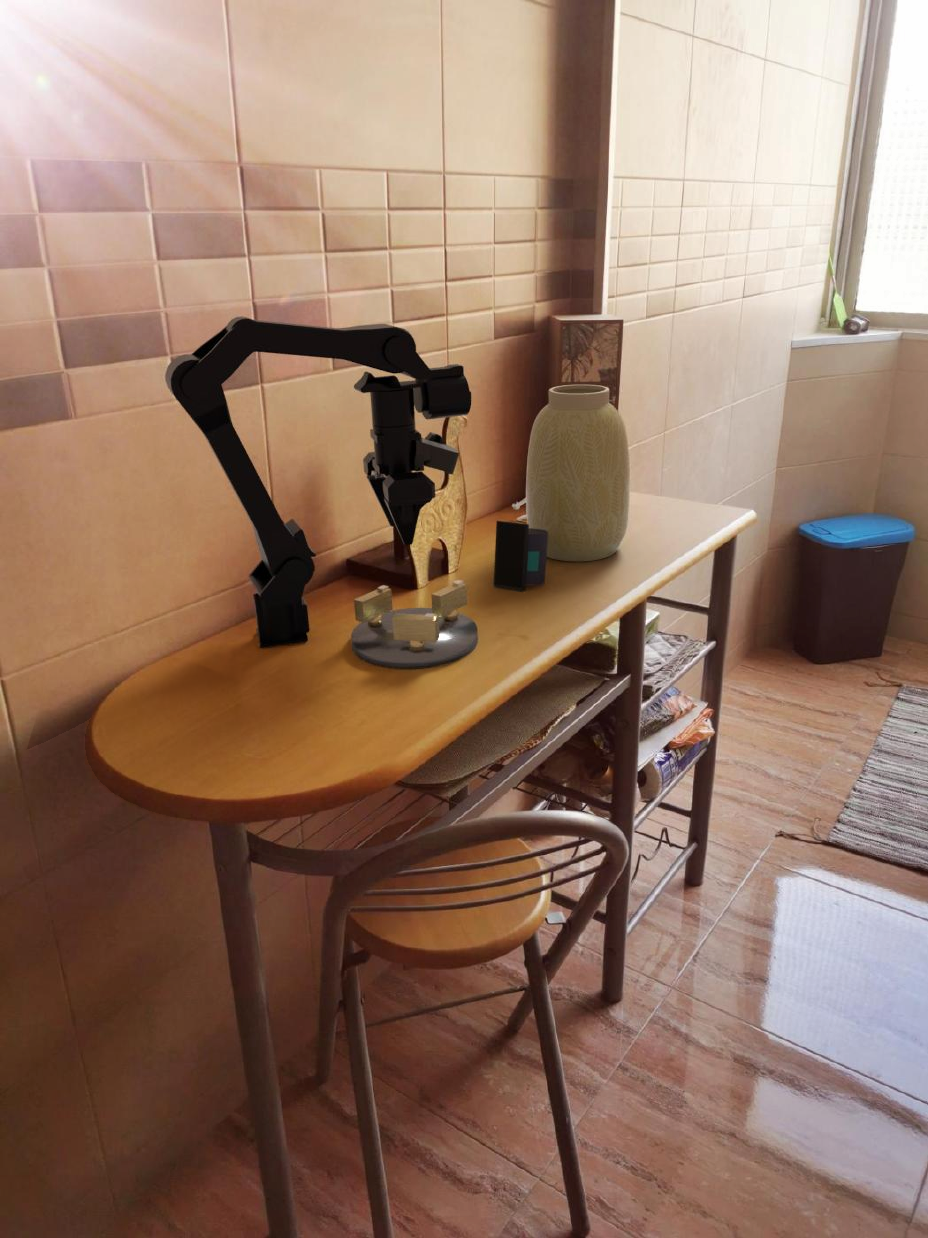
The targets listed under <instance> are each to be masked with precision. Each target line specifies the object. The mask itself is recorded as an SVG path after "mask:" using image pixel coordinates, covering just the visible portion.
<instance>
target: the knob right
mask: <svg viewBox="0 0 928 1238" xmlns="http://www.w3.org/2000/svg"><path fill="white" fill-rule="evenodd" d="M467 592H468V591H467V583H465V581H464V580H460V579H456V580H455V581H453V582H452V583H451V584H450V585H448V586H446V587H443V588H441V589H439V590H437V591H435V592H433V593H431V595H430V596H431V597H430V598H431V608H432V614H436V616H439V617H443V621H445V622H455V621H457V620H458V616H457V613H458V609H460V608H462V607H464V606H465V607H466V605H468V595H467V594H468V593H467Z"/></svg>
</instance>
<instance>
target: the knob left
mask: <svg viewBox="0 0 928 1238" xmlns="http://www.w3.org/2000/svg"><path fill="white" fill-rule="evenodd" d="M353 603H354V604H353V605H354V606H353V607H354V616H355V621H357V622H360V623H361V622H363V623H365V622H367V621H368V627H371V628H378V627H381V626H382V625H383V624H382V614H384V613H387V612H389V611H393V610H394V609H393V594H392V588H390V587H389V585H384V584H383V585H381V586H378V587H376V589H375V590H372V591H371V592H368V593H365V594H364V595H361V596H358V597H356V598H354V599H353Z"/></svg>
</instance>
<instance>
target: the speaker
mask: <svg viewBox="0 0 928 1238" xmlns="http://www.w3.org/2000/svg"><path fill="white" fill-rule="evenodd" d="M495 526H496V528H495V547H494V563H493V564H494V568H493V588H499V589H504V590H505V589H506V590H511V591H517V592H523V593H524V592H526V586H538V585H543V584H545V583H546V572H547V571H546V569H547V568H546V567H547V558H548V557H547V543H548V532H547V531H546V530H541V529H534V528H529V524H527V523H520V522H512V521H506V520H505V521H503V520H496V525H495Z"/></svg>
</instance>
